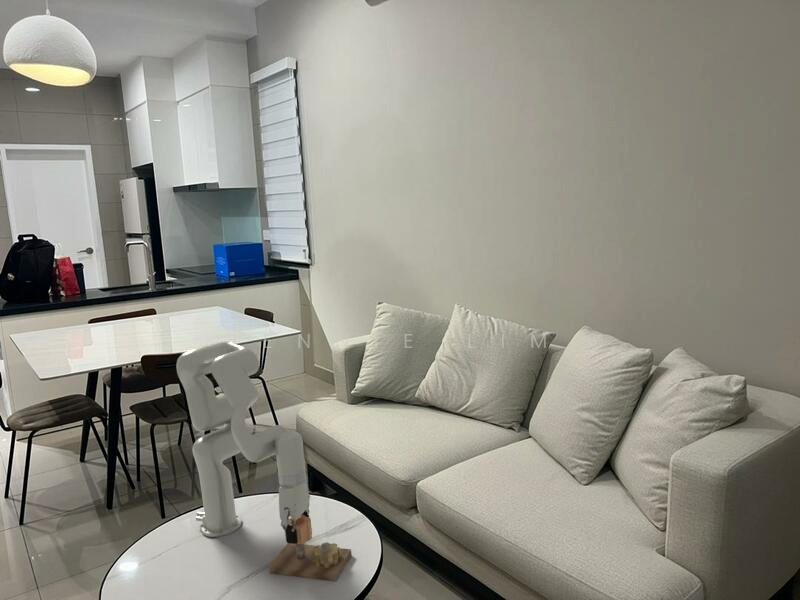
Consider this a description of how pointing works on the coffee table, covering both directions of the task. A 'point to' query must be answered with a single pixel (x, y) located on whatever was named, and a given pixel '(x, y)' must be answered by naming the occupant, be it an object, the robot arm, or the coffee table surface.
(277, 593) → the coffee table surface
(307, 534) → the loose gear
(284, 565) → the gear board
